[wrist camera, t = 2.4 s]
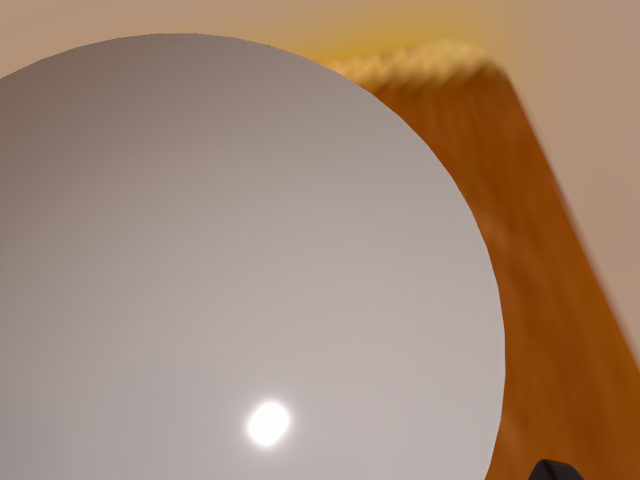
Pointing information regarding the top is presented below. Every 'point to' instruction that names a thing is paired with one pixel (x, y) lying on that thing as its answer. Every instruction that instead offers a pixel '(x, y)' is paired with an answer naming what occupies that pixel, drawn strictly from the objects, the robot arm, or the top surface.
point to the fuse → (234, 275)
